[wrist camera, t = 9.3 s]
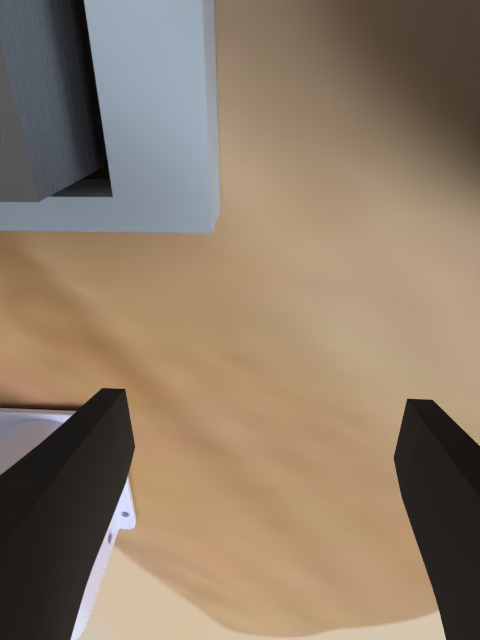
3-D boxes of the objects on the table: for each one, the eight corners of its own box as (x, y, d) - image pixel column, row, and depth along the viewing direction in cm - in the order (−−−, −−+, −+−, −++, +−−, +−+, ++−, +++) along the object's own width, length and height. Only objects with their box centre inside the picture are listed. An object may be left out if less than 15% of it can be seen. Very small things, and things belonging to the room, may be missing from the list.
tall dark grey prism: (120, 158, 18) (38, 202, 11) (47, 157, 18) (-72, 201, 12) (93, -32, 15) (-35, -108, 8) (6, -30, 15) (-180, -103, 9)
